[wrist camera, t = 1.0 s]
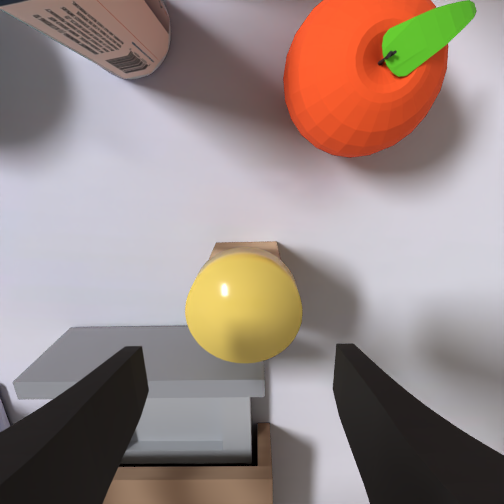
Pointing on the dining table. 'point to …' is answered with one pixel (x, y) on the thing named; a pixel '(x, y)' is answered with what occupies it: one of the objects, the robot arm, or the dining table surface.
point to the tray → (162, 392)
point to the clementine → (368, 70)
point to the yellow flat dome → (244, 306)
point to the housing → (197, 482)
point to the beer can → (103, 30)
